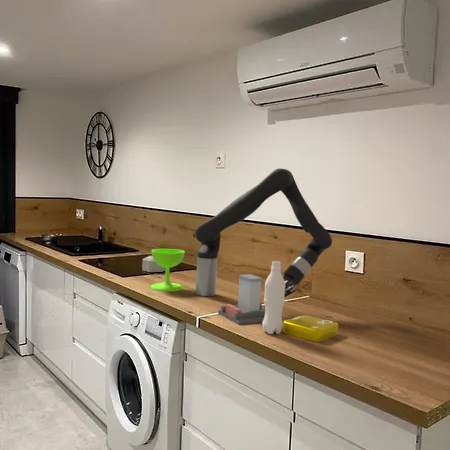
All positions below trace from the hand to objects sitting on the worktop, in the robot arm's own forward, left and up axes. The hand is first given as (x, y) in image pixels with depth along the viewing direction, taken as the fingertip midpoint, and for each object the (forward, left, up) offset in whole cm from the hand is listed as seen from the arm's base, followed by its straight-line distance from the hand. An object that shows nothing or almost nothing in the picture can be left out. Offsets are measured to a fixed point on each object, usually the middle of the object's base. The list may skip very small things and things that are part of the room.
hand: (271, 302), depth 190 cm
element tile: (+25, 0, -6) cm, 26 cm away
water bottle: (+20, -13, -5) cm, 24 cm away
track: (0, -10, -5) cm, 12 cm away
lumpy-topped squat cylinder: (-101, -11, -5) cm, 102 cm away
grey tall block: (0, -10, -3) cm, 11 cm away
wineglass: (-58, -21, -5) cm, 62 cm away
